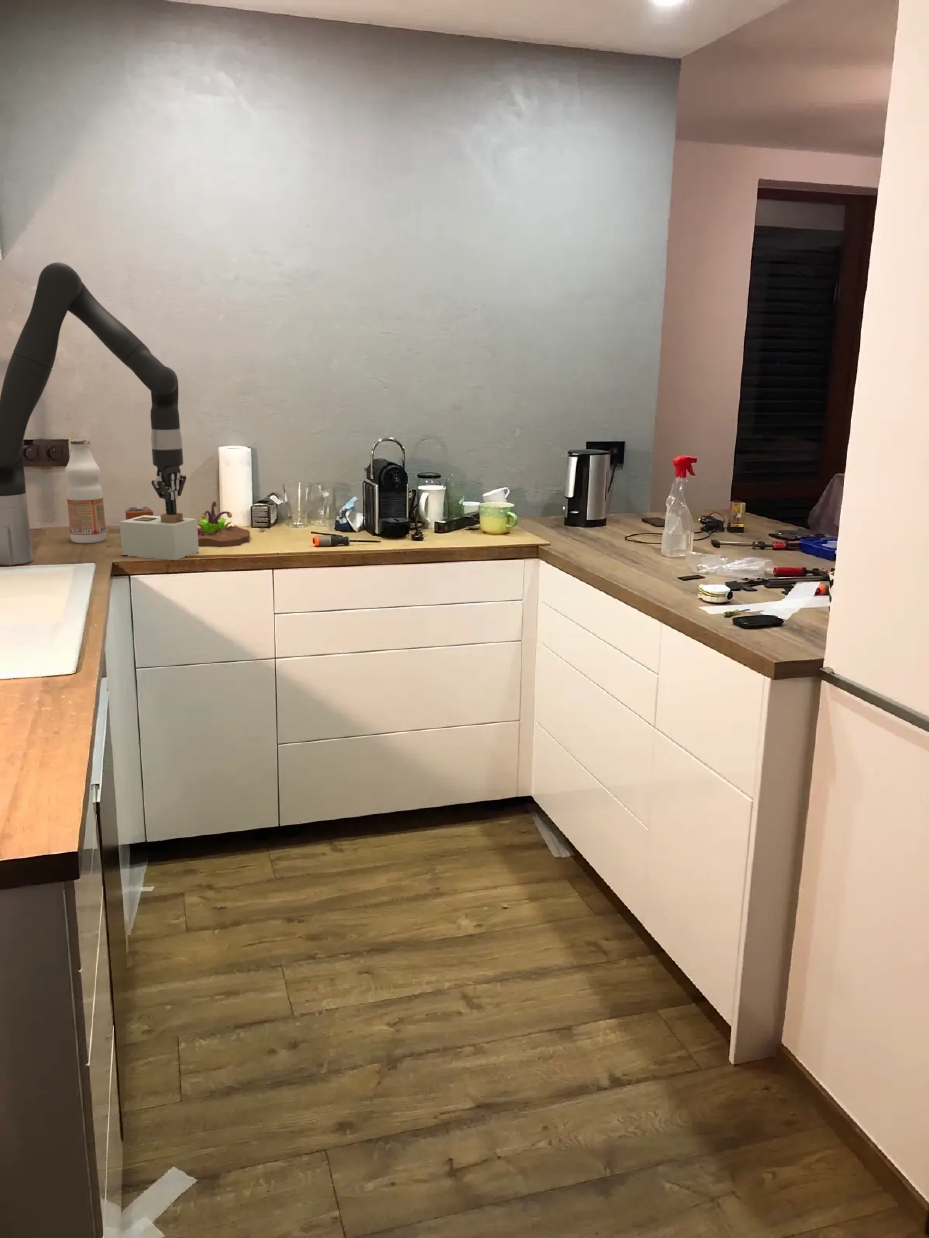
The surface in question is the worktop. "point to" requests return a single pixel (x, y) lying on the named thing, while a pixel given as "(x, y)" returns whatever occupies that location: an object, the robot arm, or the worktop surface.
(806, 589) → the worktop surface
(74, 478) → the fruit juice
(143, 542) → the socket block
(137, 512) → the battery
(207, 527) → the plant
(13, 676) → the worktop surface
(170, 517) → the peg
